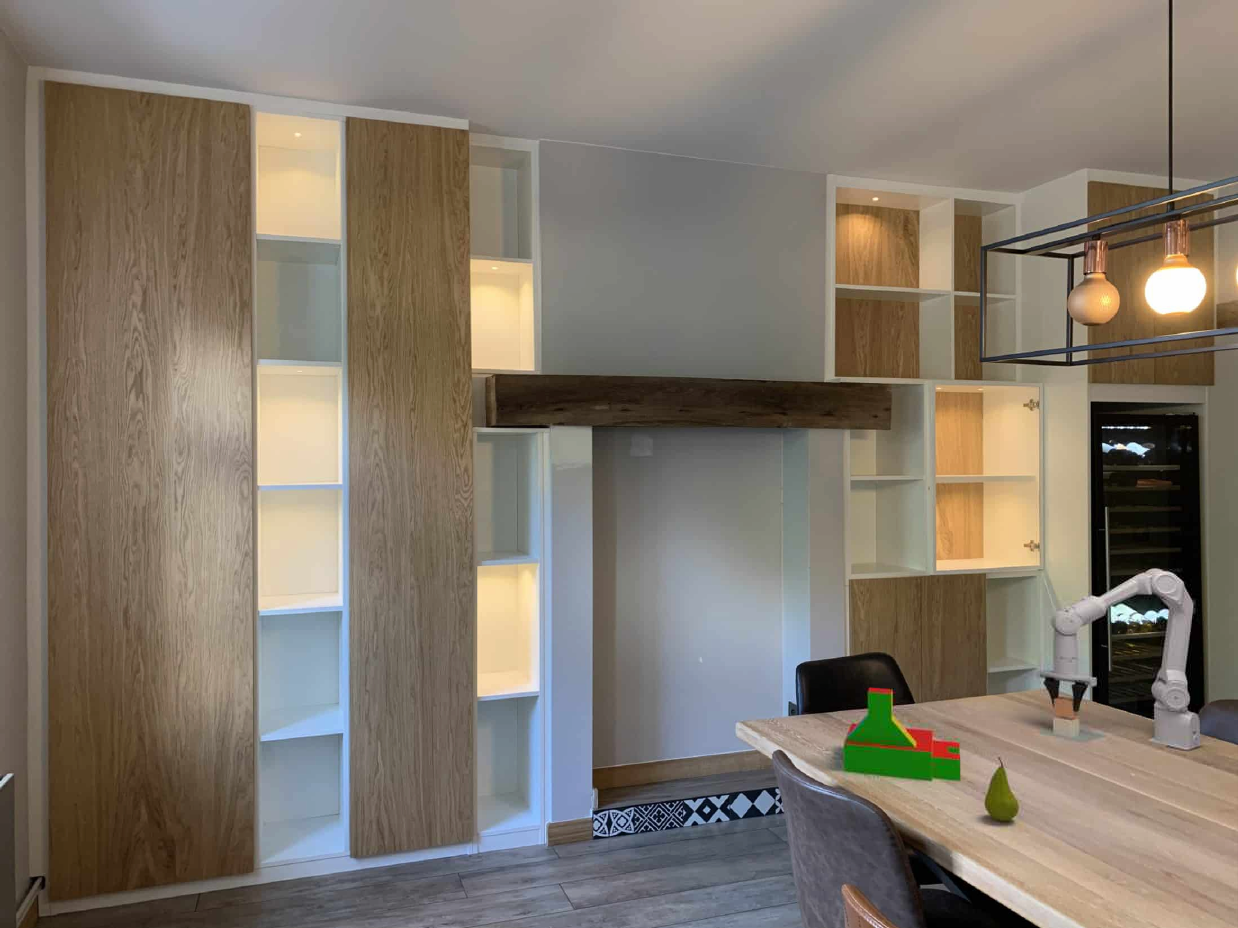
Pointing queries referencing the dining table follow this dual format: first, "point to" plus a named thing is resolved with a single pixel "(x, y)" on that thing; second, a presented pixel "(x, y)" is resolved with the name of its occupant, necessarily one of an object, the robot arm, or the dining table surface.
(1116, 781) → the dining table surface
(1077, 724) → the cream block
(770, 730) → the dining table surface
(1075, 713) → the terracotta block
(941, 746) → the building blocks toy
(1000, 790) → the fruit
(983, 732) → the dining table surface
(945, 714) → the dining table surface
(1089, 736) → the grey square plate
